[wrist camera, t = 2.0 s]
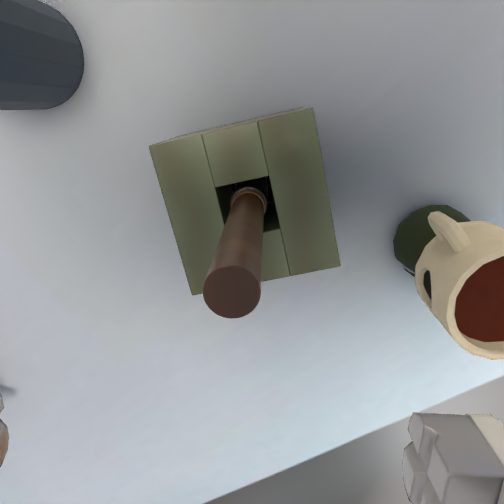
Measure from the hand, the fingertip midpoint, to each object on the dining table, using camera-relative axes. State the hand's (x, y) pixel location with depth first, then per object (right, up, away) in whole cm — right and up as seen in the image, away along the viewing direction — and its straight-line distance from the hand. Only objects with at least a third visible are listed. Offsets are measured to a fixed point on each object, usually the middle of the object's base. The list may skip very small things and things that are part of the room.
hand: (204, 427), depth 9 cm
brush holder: (+1, +9, +27) cm, 29 cm away
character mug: (+16, +5, +28) cm, 33 cm away
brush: (+1, +9, +27) cm, 29 cm away
